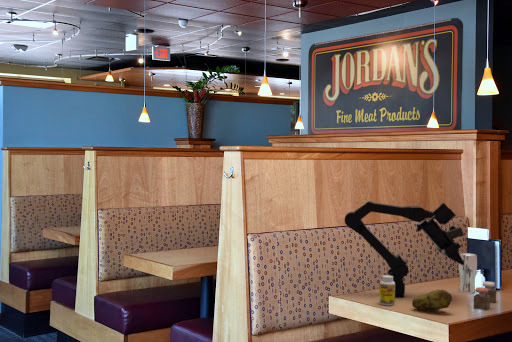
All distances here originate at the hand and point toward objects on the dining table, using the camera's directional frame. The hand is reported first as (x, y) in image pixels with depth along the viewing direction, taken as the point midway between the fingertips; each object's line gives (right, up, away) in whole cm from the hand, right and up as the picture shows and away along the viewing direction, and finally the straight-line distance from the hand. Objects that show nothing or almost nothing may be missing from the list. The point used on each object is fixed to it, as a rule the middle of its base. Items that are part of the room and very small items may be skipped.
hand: (463, 264), depth 236 cm
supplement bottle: (-31, -13, -10) cm, 35 cm away
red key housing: (+2, -14, -13) cm, 19 cm away
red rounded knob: (+2, -12, -13) cm, 18 cm away
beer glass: (+6, -13, +14) cm, 21 cm away
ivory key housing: (+9, -14, -2) cm, 16 cm away
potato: (-17, -14, -20) cm, 30 cm away
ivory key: (+9, -12, -2) cm, 15 cm away
